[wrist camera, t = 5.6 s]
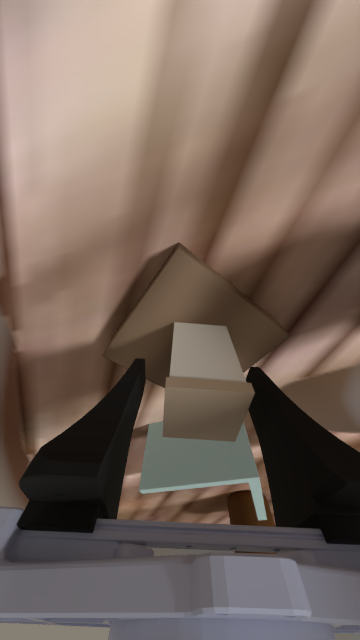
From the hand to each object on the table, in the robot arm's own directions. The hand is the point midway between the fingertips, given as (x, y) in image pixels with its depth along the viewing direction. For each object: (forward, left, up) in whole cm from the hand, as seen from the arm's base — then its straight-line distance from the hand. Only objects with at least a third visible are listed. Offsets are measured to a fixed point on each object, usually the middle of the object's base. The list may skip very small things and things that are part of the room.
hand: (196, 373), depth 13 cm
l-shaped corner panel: (-13, +14, -6) cm, 20 cm away
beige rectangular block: (0, 0, -3) cm, 3 cm away
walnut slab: (0, 0, -6) cm, 6 cm away
